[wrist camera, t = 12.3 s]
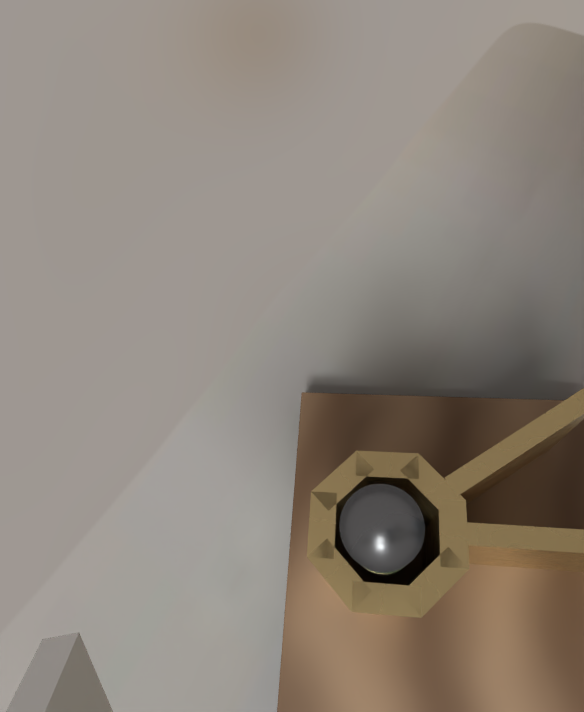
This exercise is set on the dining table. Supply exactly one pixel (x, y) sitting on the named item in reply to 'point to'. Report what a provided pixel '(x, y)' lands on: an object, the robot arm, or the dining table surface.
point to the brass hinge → (444, 518)
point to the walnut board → (458, 605)
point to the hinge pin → (382, 528)
